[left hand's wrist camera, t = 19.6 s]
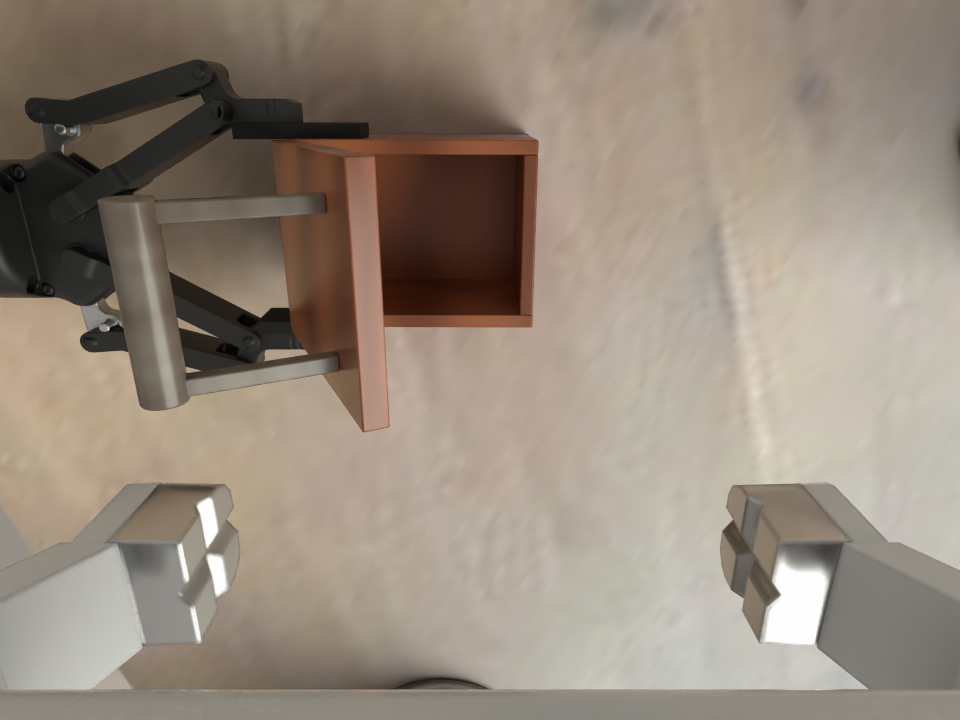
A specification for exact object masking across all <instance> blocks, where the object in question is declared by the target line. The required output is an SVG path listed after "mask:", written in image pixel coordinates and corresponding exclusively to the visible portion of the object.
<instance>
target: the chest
mask: <svg viewBox="0 0 960 720" xmlns="http://www.w3.org/2000/svg"><path fill="white" fill-rule="evenodd" d="M287 140H296V141H302V142H307V143H312V144H318V145H323V146H328V147H334V148H339V149H344V150H350V151H355V152H360V153H366V154H371V155H374V156H375V165H376V183H377V202H378V221H379V239H380V258H381V276H382V295H383V314H384V327H532V319H533V316H532V314H533V289H534V260H535V231H536V201H537V172H538V155H537V154H538V143H539V142H538V140H536V139H534V138H532V137H530V136H528V134H373V133H369V137H366V138H361V139H287Z"/></svg>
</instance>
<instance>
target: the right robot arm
mask: <svg viewBox="0 0 960 720" xmlns="http://www.w3.org/2000/svg"><path fill="white" fill-rule="evenodd" d="M199 94H201V96H202V98H203V100H204V102H205V104H204V105H202V106H201V107H199V108H198V109H196V110H195V111H193V112H192V113H190V114H189V115H187V116H186V117H184V118H183V119H181V120H180V121H178V122H177V123H175V124H174V125H172V126H171V127H169V128H168V129H166V130H165V131H163V132H162V133H160V134H159V135H157V136H156V137H154V138H153V139H151V140H150V141H148V142H147V143H145V144H144V145H142V146H141V147H139V148H138V149H136V150H135V151H133V152H132V153H130V154H129V155H127V156H126V157H124V158H123V159H121V160H120V161H118V162H116V163H114V164H112V165H110V166H107V167H105V168H104V169H102V170H101V169H99V168H98V167H96V166H95V165H93V164H92V163H90V162H88V161H87V160H85V159H84V158H82V157H81V156H79V155H78V154H76V153H74V152H73V147H74V144H75V143H76V142H77V141H79V140H83V139H86V138H87V137H88V136H89V134H90V132H91V131H92V127H91V125H90V124H105V123H110V122H114V121H117V120H120V119H123V118H126V117H130V116H133V115H136V114H139V113H142V112H145V111H149V110H152V109H155V108H158V107H161V106H164V105H167V104H171V103H174V102H177V101H180V100H183V99H186V98H189V97H193V96H196V95H199ZM25 111H26V114H27V115H28V117H29V118H30V119H31V120H33V121H34V122H37V123H40V127H41V134H42V140H43V146H44V152H43V153H41V154H39V155H38V156H36V157H35V158H33V159H31V160H0V298H49V297H56V298H61V299H64V300H67V301H69V302H71V303H73V304H76V305H79V306H80V307H81V310H82V314H83V317H84V320H85V323H86V327H87V330H88V332H86V333H84V334H83V335H82V336H81V338H80V344H81V346H82V347H83V348H84V349H85V350H86V351H89V352H106V351H121V350H122V351H126V352H128V347H127V342H126V337H125V332H124V328H123V323H122V318H121V313H120V310H116V309H113V308H111V307H110V306H108V304H107V303H106V301H105V299H106V298H107V297H108V296H110V295H111V294H112V293H113V292H114V291H116V289H115V285H114V280H113V275H112V270H111V265H110V261H109V256H108V251H107V246H106V241H105V237H104V232H103V227H102V222H101V217H100V213H99V208H98V203H97V201H98V200H99V199H101V198H105V197H112V196H123V195H134V193H135V192H137V191H138V190H140V189H142V188H143V187H145V186H146V185H148V184H149V183H151V182H152V181H153V179H154V178H156V177H157V176H159V175H160V174H162V173H163V172H165V171H166V170H168V169H169V168H171V167H172V166H174V165H176V164H177V163H179V162H180V161H182V160H183V159H185V158H186V157H188V156H189V155H191V154H192V153H194V152H196V151H197V150H199V149H200V148H202V147H203V146H205V145H206V144H208V143H209V142H211V141H212V140H214V139H216V138H217V137H219V136H220V135H222V134H223V133H225V132H226V131H228V130H229V129H231V128H232V133H233V139H361V138H366V137H369V127H368V123H329V122H303V113H302V103H299V102H297V101H294V100H292V99H243V98H241V97H239V96H238V95H237V94H236V93H235V92H234V90H233V89H232V86H231V84H230V82H229V74H228V71H227V69H226V68H225V67H224V66H223V65H222V64H219V63H215V62H209V61H204V60H192V61H189V62H186V63H183V64H180V65H177V66H174V67H170V68H167V69H164V70H161V71H158V72H155V73H152V74H149V75H146V76H143V77H140V78H136V79H133V80H130V81H127V82H124V83H121V84H118V85H115V86H112V87H109V88H106V89H102V90H99V91H96V92H93V93H90V94H87V95H84V96H81V97H78V98H75V99H62V98H30V99H29V100H27V102H26V104H25ZM168 270H169V269H168ZM169 276H170V281H171V287H172V293H173V298H174V304H175V310H176V316H177V317H178V318H180V319H182V320H184V321H186V322H188V323H190V324H192V325H194V326H196V327H198V328H200V329H202V330H204V331H206V332H208V333H210V334H212V335H214V336H216V337H213V336H209V335H205V334H201V333H197V332H193V331H189V330H186V329H182V328H179V333H180V338H181V344H182V350H183V355H184V361H185V366H186V367H190V368H194V369H198V370H201V371H205V370H212V369H218V368H225V367H231V366H238V365H244V364H251V363H257V362H264V360H265V355H264V353H265V350H268V349H304V347H303V346H302V345H301V343H300V342H299V340H298V339H297V337H296V336H295V335H294V333H293V332H292V329H291V319H290V310H289V308H271V309H270V310H269V311H268V312H267V313H266V314H265V315H263V316H262V317H261V318H260V317H258V316H256V315H254V314H252V313H250V312H248V311H246V310H244V309H242V308H240V307H238V306H236V305H234V304H232V303H230V302H228V301H226V300H224V299H222V298H220V297H218V296H216V295H214V294H212V293H210V292H208V291H206V290H204V289H202V288H200V287H198V286H196V285H194V284H192V283H190V282H188V281H186V280H185V279H183V278H181V277H179V276H177V275H175V274H173V273H171V272H170V271H169ZM217 337H218V338H217ZM395 690H487V689H485V688H482V687H480V686H477V685H474V684H470V683H467V682H462V681H455V680H426V681H420V682H415V683H411V684H408V685H405V686H402V687H400V688H398V689H395Z"/></svg>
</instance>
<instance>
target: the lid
mask: <svg viewBox="0 0 960 720" xmlns="http://www.w3.org/2000/svg"><path fill="white" fill-rule="evenodd" d="M271 145H272V154H273V163H274V172H275V182H276V191H277V194H271V195H251V196H231V197H211V198H190V199H170V200H156V198H155V197H153V196H149V195H123V196H112V197H105V198H101V199H99V200H98V201H97V203H98V208H99V213H100V217H101V222H102V227H103V232H104V237H105V241H106V246H107V251H108V256H109V261H110V265H111V270H112V275H113V280H114V285H115V289H116V294H117V299H118V304H119V309H120V313H121V318H122V323H123V328H124V332H125V337H126V342H127V347H128V352H129V356H130V361H131V366H132V371H133V376H134V380H135V385H136V390H137V395H138V400H139V404H140V406H141V407H142V408H143V409H145V410H151V411H160V410H167V409H172V408H175V407H178V406H181V405H183V404H185V403H186V402H188V401H189V399H190V396H196V395H202V394H208V393H214V392H220V391H226V390H231V389H237V388H243V387H249V386H255V385H261V384H267V383H273V382H279V381H285V380H291V379H297V378H303V377H309V376H314V375H320V374H323V376H324V377H325V379H326V380H327V382H328V383H329V384H330V386H331V387H332V389H333V390H334V392H335V393H336V394H337V396H338V397H339V399H340V400H341V401H342V403H343V404H344V406H345V407H346V409H347V410H348V411H349V413H350V414H351V416H352V417H353V419H354V420H355V421H356V423H357V424H358V426H359V427H360V428H361V430H362V431H363V432H368V431H373V430H378V429H383V428H387V427H389V407H388V388H387V370H386V351H385V332H384V314H383V295H382V276H381V258H380V239H379V221H378V202H377V183H376V165H375V156H374V155H371V154H366V153H360V152H355V151H350V150H344V149H339V148H334V147H328V146H323V145H318V144H312V143H307V142H302V141H296V140H271ZM263 217H279V218H280V228H281V237H282V246H283V255H284V264H285V273H286V283H287V292H288V301H289V310H290V319H291V329H292V332H293V333H294V335H295V336H296V337H297V339H298V340H299V342H300V343H301V345H302V346H303V347H304V349H305V350H306V352H307V353H308V355H302V356H296V357H289V358H283V359H276V360H270V361H264V362H257V363H251V364H244V365H238V366H231V367H225V368H218V369H212V370H205V371H199V372H192V373H187V372H186V367H185V361H184V355H183V350H182V344H181V338H180V333H179V327H178V321H177V316H176V310H175V304H174V298H173V293H172V287H171V281H170V276H169V270H168V264H167V259H166V253H165V247H164V242H163V236H162V230H161V225H160V224H169V223H184V222H200V221H216V220H232V219H247V218H263Z"/></svg>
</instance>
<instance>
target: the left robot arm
mask: <svg viewBox="0 0 960 720" xmlns="http://www.w3.org/2000/svg"><path fill="white" fill-rule="evenodd" d="M233 508H234V506H233V501H232V496H231V491H230V489H229V488H228V487H227V486H226V485H225V484H186V483H164V484H163V483H133V484H128V485H126V486H125V487H124V488H123V489H122V490H121V491H120V492H119V493H118V494H117V495H116V496H115V497H114V498H113V499H112V501H111V502H110V503H109V504H108V505H107V506H106V507H105V508H104V509H103V510H102V511H101V512H100V513H99V514H98V515H97V516H96V517H95V518H94V519H93V520H92V521H91V522H90V523H89V524H88V525H87V527H86V528H85V529H84V530H83V531H82V532H81V533H80V534H79V535H78V536H77V537H76V538H75V539H74V540H73V541H72V542H71V543H59V544H57V545H55V546H52V547H50V548H48V549H46V550H44V551H42V552H39V553H37V554H35V555H33V556H31V557H28V558H26V559H24V560H22V561H20V562H18V563H15V564H13V565H11V566H9V567H7V568H5V569H2V570H0V720H960V570H958V569H955V568H953V567H951V566H949V565H947V564H944V563H942V562H940V561H938V560H936V559H934V558H931V557H929V556H927V555H925V554H923V553H921V552H918V551H916V550H914V549H912V548H910V547H908V546H905V545H903V544H901V543H889V542H888V541H887V540H886V539H885V538H884V537H883V536H882V535H881V534H880V533H879V532H878V531H877V530H876V529H875V528H874V526H873V525H872V524H871V523H870V522H869V521H868V520H867V519H866V518H865V517H864V516H863V515H862V514H861V513H860V512H859V511H858V510H857V509H856V508H855V507H854V506H853V505H852V504H851V502H850V501H849V500H848V499H847V498H846V497H845V496H844V495H843V494H842V493H841V492H840V491H839V490H838V489H837V488H836V487H835V486H834V485H831V484H829V483H827V482H824V483H797V484H764V485H733V486H732V488H731V490H730V492H729V494H728V500H727V505H726V508H727V510H728V512H729V513H730V515H731V516H732V518H733V521H732V522H731V523H730V524H729V525H728V526H727V527H726V528H725V529H724V530H723V531H722V537H721V545H720V554H721V565H722V569H723V572H724V576H725V579H726V581H727V583H728V585H729V587H730V589H731V590H732V591H734V592H735V593H736V594H738V595H739V596H741V597H742V598H744V602H743V608H742V612H743V613H744V615H745V617H746V619H747V621H748V623H749V625H750V627H751V628H752V630H753V632H754V634H755V636H756V638H757V640H758V641H759V643H760V644H796V645H818V646H817V648H818V649H819V650H821V651H822V652H823V653H824V654H826V655H827V656H828V657H829V658H831V659H832V660H833V661H834V662H836V663H837V664H838V665H839V666H841V667H842V668H843V669H844V670H846V671H847V672H848V673H849V674H851V675H852V676H853V677H854V678H856V679H857V680H858V681H859V682H861V683H862V684H863V685H864V686H866V687H867V688H868V689H568V690H277V689H92V688H93V687H95V686H96V685H97V684H98V683H100V682H101V681H102V680H103V679H105V678H106V677H107V676H108V675H110V674H111V673H112V672H113V671H115V670H116V669H117V668H118V667H120V666H121V665H122V664H123V663H125V662H126V661H127V660H128V659H130V658H131V657H132V656H133V655H135V654H136V653H137V652H138V651H140V650H141V649H142V648H143V646H142V645H164V644H199V643H201V642H202V640H203V638H204V636H205V634H206V632H207V630H208V628H209V627H210V625H211V623H212V621H213V619H214V617H215V615H216V613H217V612H218V608H217V602H216V598H218V597H219V596H221V595H222V594H224V593H225V592H226V591H228V590H229V589H230V587H231V585H232V583H233V581H234V579H235V577H236V572H237V568H238V563H239V559H240V543H239V536H238V531H237V530H236V529H235V528H234V527H233V526H232V525H231V524H230V523H229V522H228V521H227V518H228V517H229V515H230V513H231V512H232V510H233Z"/></svg>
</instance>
